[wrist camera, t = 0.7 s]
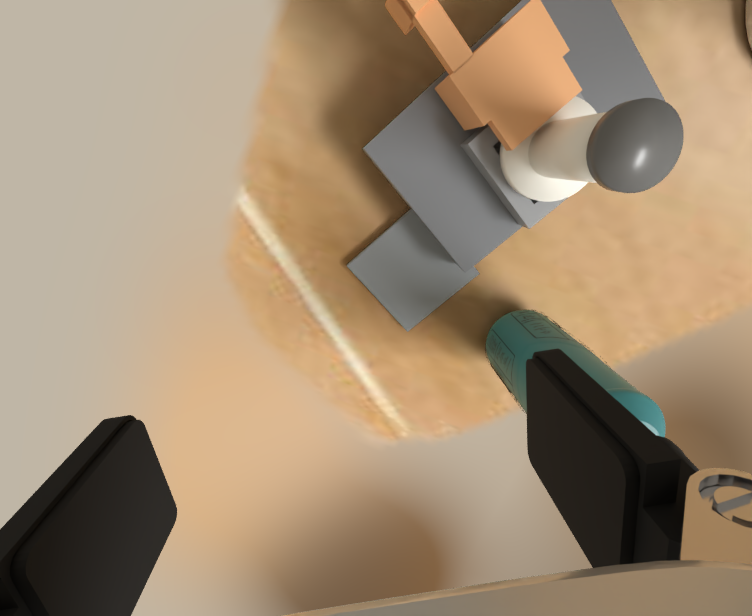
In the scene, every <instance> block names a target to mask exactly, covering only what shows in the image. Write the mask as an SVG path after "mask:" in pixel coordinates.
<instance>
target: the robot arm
mask: <svg viewBox="0 0 752 616" xmlns="http://www.w3.org/2000/svg"><path fill="white" fill-rule="evenodd" d="M746 30H747V36H748V41H749V44H750V46H751V49H752V0H747V1H746ZM526 399H527V442H528V443H527V444H528V455H529V459H530V462H531V464H532V466H533V468H534V469H535V471H536V473H537V475H538V476H539V478H540V479H541V481H542V483H543V485H544V486H545V488H546V489H547V491H548V493H549V495H550V496H551V498H552V500H553V501H554V503H555V505H556V507H557V508H558V510H559V511H560V513H561V515H562V516H563V518H564V520H565V522H566V523H567V525H568V527H569V528H570V530H571V531H572V533H573V535H574V537H575V538H576V540H577V542H578V543H579V545H580V547H581V549H582V550H583V552H584V554H585V555H586V557H587V558H588V560H589V562H590V564H591V565H592V567H593V568H590V569H582V570H575V571H568V572H561V573H553V574H546V575H538V576H531V577H524V578H518V579H511V580H504V581H498V582H491V583H485V584H478V585H472V586H466V587H459V588H453V589H446V590H440V591H433V592H427V593H421V594H414V595H408V596H401V597H394V598H388V599H381V600H376V601H369V602H364V603H357V604H350V605H344V606H338V607H332V608H325V609H319V610H313V611H306V612H300V613H294V614H288V615H282V616H752V474H749V473H746V472H742V471H738V470H732V469H726V468H708V469H704V470H700V471H697V472H696V471H695V470H694V469H693V468H692V467H691V466H689V465H688V464H687V463H686V462H685V461H684V460H683V459H682V458H681V457H679V456H678V455H677V454H676V453H675V452H674V451H673V450H672V449H671V448H669V447H668V446H667V445H666V444H665V443H664V442H663V441H662V440H661V439H660V438H658V437H657V436H656V435H655V434H654V433H653V432H652V431H651V430H650V429H648V428H647V427H646V426H645V425H644V424H643V423H642V422H641V421H640V420H639V419H637V418H636V417H635V416H634V415H633V414H632V413H631V412H630V411H629V410H627V409H626V408H625V407H624V406H623V405H622V404H621V403H620V402H619V401H617V400H616V399H615V398H614V397H613V396H612V395H610V394H609V393H608V392H607V391H606V390H605V389H604V388H603V387H602V386H600V385H599V384H598V383H597V382H596V381H595V380H594V379H593V378H592V377H591V376H589V375H588V374H587V373H586V372H585V371H584V370H583V369H582V368H581V367H579V366H578V365H577V364H576V363H575V362H574V361H573V360H572V359H571V358H570V357H568V356H567V355H566V354H565V353H564V352H563V351H562V350H560V349H559V348H558V349H551V350H544V351H538V352H534V353H533V356H532V359H527V361H526ZM176 517H177V508H176V504H175V502H174V499H173V496H172V494H171V491H170V489H169V486H168V484H167V481H166V479H165V476H164V473H163V471H162V469H161V466H160V463H159V461H158V458H157V456H156V453H155V451H154V448H153V445H152V443H151V441H150V438H149V435H148V433H147V430H146V428H145V425H144V423H143V422H142V421H140V420H136V418H135V417H134V416H131V415H128V416H122V417H115V418H109V419H104V420H103V421H102V422H101V423H100V424H99V425H98V426H97V427H96V428H95V429H94V430H93V431H92V432H91V433H90V434H89V436H88V437H87V438H86V439H85V440H84V441H83V442H82V443H81V444H80V445H79V446H78V447H77V448H76V449H75V450H74V451H73V453H72V454H71V455H70V456H69V457H68V458H67V459H66V460H65V461H64V462H63V463H62V464H61V466H59V467H58V468H57V470H56V471H55V472H54V473H53V474H52V475H51V476H50V477H49V478H48V479H47V480H46V481H45V482H44V483H43V484H42V486H41V487H40V488H39V489H38V490H37V491H36V492H35V493H34V494H33V495H32V496H31V497H30V498H29V499H28V500H27V502H26V503H25V504H24V505H23V506H22V507H21V508H20V509H19V510H18V511H17V512H16V513H15V514H14V516H13V517H12V518H11V519H10V520H9V521H8V522H7V523H6V524H5V525H4V526H3V527H2V528H1V529H0V616H131V614H132V612H133V610H134V608H135V606H136V603H137V601H138V599H139V597H140V595H141V593H142V591H143V589H144V587H145V585H146V582H147V580H148V578H149V576H150V574H151V572H152V570H153V568H154V565H155V564H156V561H157V559H158V557H159V555H160V553H161V551H162V549H163V547H164V545H165V543H166V540H167V538H168V536H169V534H170V532H171V530H172V528H173V526H174V524H175V521H176Z"/></svg>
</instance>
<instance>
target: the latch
mask: <svg viewBox="0 0 752 616" xmlns="http://www.w3.org/2000/svg"><path fill="white" fill-rule="evenodd" d="M385 8H386V9H387V11H388V12H389V13H390V15H391V16H392V18H393V19H394V20H395V22H396V23H397V25H398V26H399V27H400V29H401V30H402V32H403V33H404V34H405V36H406V35H407V34H408V33H409V32H410V31H411V30H412V29H413V28H414V27H416V28H417V30H418V31H419V33H420V34H421V35H422V37H423V38H424V40H425V41H426V43H427V44H428V45H429V47H430V48H431V50H432V51H433V53H434V54H435V55H436V57H437V58H438V60H439V61H440V63H441V64H442V65H443V67H444V68H445V70H446V71H447V73H448V74H449V75H448V76H447V77H446V78H445V79H444V80H443V81H442V82H441V83H440V84H438V85H437V86H436V87H435V88H434V89H435V90H436V92H437V93H438V94H439V96H440V97H441V99H442V100H443V101H444V103H445V104H446V105H447V107H448V108H449V110H450V111H451V112H452V114H453V115H454V117H455V118H456V119H457V121H458V122H459V124H460V125H461V126H462V128H463V129H464V130H469V129H474V128H478V127H482V126H485V125H486V124H488V125H489V126H490V128H491V129H492V131H493V132H494V134H495V135H496V136H497V138H498V139H499V141H500V142H501V144H502V145H503V147H504V148H505V149H506V151H510V150H513V149H514V148H516V147H517V146H518V145H519V144H520V143H521V142H523V141H524V140H525V139H526V138H527V137H528V136H530V135H531V134H532V133H533V132H534V131H535V130H537V129H538V128H539V127H540V126H541V125H542V124H544V123H545V122H546V121H547V120H548V119H549V118H551V117H552V116H553V115H554V114H555V113H556V112H558V111H559V110H560V109H561V108H562V107H563V106H565V105H566V104H567V103H568V102H569V101H570V100H572V99H573V98H574V97H575V96H576V95H577V94H578V93H580V92H581V91H582V88H581V87H580V85H579V83H578V82H577V80H576V78H575V77H574V75H573V73H572V72H571V70H570V68H569V67H568V65H567V63H566V62H565V60H564V58H563V56H564V55H565V54H566V53H567V52H569V51H570V49H569V48H568V46H567V44H566V43H565V41H564V39H563V38H562V36H561V34H560V32H559V31H558V29H557V27H556V26H555V24H554V22H553V21H552V19H551V17H550V16H549V14H548V12H547V10H546V9H545V7H544V5H543V4H542V2H541V0H530V1H529V2H528V3H527V4H526V5H525V6H524V7H522V8H521V9H520V10H519V11H518V12H517V13H515V14H514V15H513V16H512V17H511V18H510V19H509V20H507V21H506V22H505V23H504V24H503V25H502V26H501V27H500V28H499V29H498V30H497V31H496V32H495V33H493V34H492V35H491V36H490V37H489V38H488V39H487V40H486V41H485V42H484V43H483V44H482V45H480V46H479V47H478V48H477V49H476V50H475V51H474V52H472V51H471V49H470V48H469V46H468V45H467V43H466V42H465V40H464V39H463V38H462V36H461V35H460V33H459V32H458V30H457V29H456V27H455V26H454V24H453V23H452V21H451V20H450V18H449V17H448V15H447V14H446V12H445V11H444V9H443V8H442V6H441V5H440V3H439V2H438V0H386V3H385Z"/></svg>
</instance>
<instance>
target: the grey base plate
mask: <svg viewBox="0 0 752 616" xmlns="http://www.w3.org/2000/svg"><path fill="white" fill-rule="evenodd" d="M529 1H530V0H521V1H520V2H519V3H518V4H517V5H516V6H515V7H514V8H513V9H512V10H510V11H509V12H508V13H507V14H506V15H505V16H504V17H503V18H502V19H501V20H500V21H499V22H498V23H497V24H495V25H494V26H493V27H492V28H491V29H490V30H489V31H488V32H487V33H486V34H485V35H484V36H483V37H482V38H480V39H479V40H478V41H477V42H476V43H475V44H474V45H473V46H472V47H471V48H470V49H471V51H472V52H474V51H475V50H476V49H477V48H478V47H479V46H480V45H482V44H483V43H484V42H485V41H486V40H487V39H488V38H489V37H490V36H491V35H492V34H493V33H495V32H496V31H497V30H498V29H499V28H500V27H501V26H502V25H503V24H504V23H505V22H506V21H507V20H509V19H510V18H511V17H512V16H513V15H514V14H515V13H517V12H518V11H519V10H520V9H521V8H522V7H524V6H525V5H526V4H527V3H528V2H529ZM541 2H542V4H543V5H544V7H545V9H546V10H547V12H548V14H549V16H550V17H551V19H552V21H553V22H554V24H555V26H556V27H557V29H558V31H559V32H560V34H561V36H562V38H563V39H564V41H565V43H566V44H567V46H568V48H569V49H570V51H569V52H567V53H566V54H565V55H564V56H563V58H564V60H565V62H566V63H567V65H568V67H569V68H570V70H571V72H572V73H573V75H574V77H575V78H576V80H577V82H578V83H579V85H580V87H581V88H582V91H581V92H580V93H578V94H577V95H576V97H579V98H581V99H583V100H585V101H586V102H587V103H589V104H590V105H591V106H592V107H593V108H594V110H595V111H596V113H597V114H598V113H603V112H607V111H609V110H610V109H612V108H613V107H615V106H616V105H618V104H621V103H623V102H627V101H631V100H636V99H641V98H656V99H660V100H663V101H665V100H664V98H663V96H662V94H661V92H660V90H659V89H658V87H657V85H656V83H655V81H654V79H653V77H652V76H651V74H650V72H649V70H648V68H647V66H646V64H645V63H644V61H643V59H642V57H641V55H640V53H639V51H638V50H637V48H636V46H635V44H634V42H633V40H632V38H631V37H630V35H629V33H628V31H627V29H626V27H625V25H624V24H623V22H622V20H621V18H620V16H619V14H618V12H617V11H616V9H615V7H614V5H613V3H612V1H611V0H541ZM448 75H449V74H448V73H447V71H445V72H444V73H443V74H442V75H441V76H440V77H439V78H438V79H436V80H435V81H434V82H433V83H432V84H431V85H430V86H429V87H428V88H427V89H426V90H425V91H424V92H423V93H421V94H420V95H419V96H418V97H417V98H416V99H415V100H414V101H413V102H412V103H411V104H410V105H409V106H407V107H406V108H405V109H404V110H403V111H402V112H401V113H400V114H399V115H398V116H397V117H396V118H395V119H394V120H392V121H391V122H390V123H389V124H388V125H387V126H386V127H385V128H384V129H383V130H382V131H381V132H380V133H379V134H377V135H376V136H375V137H374V138H373V139H372V140H371V141H370V142H369V143H368V144H367V145H366V146H365V147H363V148H362V150H363V151H364V152H365V154H366V155H367V156H368V157H369V158H370V160H371V161H372V162H373V163H374V164H375V166H376V167H377V168H378V169H379V171H380V172H381V173H382V174H383V175H384V177H385V178H386V179H387V180H388V182H389V183H390V184H391V185H392V186H393V188H394V189H395V190H396V191H397V193H398V194H399V195H400V196H401V197H402V199H403V200H404V201H405V202H406V204H407V205H408V206H409V207H410V208H411V209H412V211H413V212H414V213H415V214H416V215H417V217H418V218H419V219H420V220H421V221H422V223H423V224H424V225H425V226H426V228H427V229H428V230H429V231H430V232H431V234H432V235H433V236H434V237H435V239H436V240H437V241H438V242H439V243H440V245H441V246H442V247H443V248H444V250H445V251H446V252H447V253H448V254H449V256H450V257H451V258H452V259H453V261H454V262H455V263H456V264H457V265H458V266H459V267H460V268H461V269H462V270H463V271H464V272H465V273H466V272H467V271H468V270H470V269H471V268H472V267H473V266H474V265H476V264H477V263H478V262H479V261H481V260H482V259H483V258H484V257H486V256H487V255H488V254H489V253H490V252H492V251H493V250H494V249H495V248H497V247H498V246H499V245H500V244H501V243H503V242H504V241H505V240H506V239H508V238H509V237H510V236H511V235H513V234H514V233H515V232H516V231H517V230H519V229H520V228H521V227H522V226H523V227H526V228H528V229H530V228H531V227H532V226H534V225H535V224H536V223H537V222H539V221H540V220H541V219H542V218H543V217H545V216H546V215H547V214H548V213H550V212H551V211H552V210H553V209H555V208H556V207H557V206H558V205H560V204H561V203H562V202H563V201H564V200H566V199H567V198H568V197H567V198H565V199H562V200H558V201H552V202H543V201H537V200H533V199H529V198H526V197H524V196H522V195H520V194H519V193H517V192H516V191H515V190H514V189H512V187H511V186H510V185H509V184H508V182H507V181H506V179H505V177H504V175H503V172H502V169H501V164H500V146H501V142H500V141H499V139H498V138H497V136H496V135H495V134H494V132H493V131H492V129H491V128H490V126H489V125H488V124H486V125H485V126H482V127H478V128H474V129H469V130H464V129H463V128H462V126H461V125H460V124H459V122H458V121H457V119H456V118H455V117H454V115H453V114H452V112H451V111H450V110H449V108H448V107H447V105H446V104H445V103H444V101H443V100H442V99H441V97H440V96H439V94H438V93H437V92H436V90H435V89H434V88H435V87H436V86H437V85H438V84H440V83H441V82H442V81H443V80H444V79H445V78H446V77H447V76H448Z"/></svg>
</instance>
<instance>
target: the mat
mask: <svg viewBox="0 0 752 616" xmlns="http://www.w3.org/2000/svg"><path fill="white" fill-rule="evenodd" d="M347 267H348V268H349V269H350V270H351V271H352V272H353V273H354V274H355V276H356V277H357V278H358V279H359V280H360V281H361V282H362V283H363V284H364V285H365V286H366V287H367V289H368V290H369V291H370V292H371V293H372V294H373V295H374V296H375V297H376V298H377V299H378V300H379V302H380V303H381V304H382V305H383V306H384V307H385V308H386V309H387V310H388V311H389V312H390V313H391V315H392V316H393V317H394V318H395V319H396V320H397V321H398V322H399V323H400V324H401V325H402V326H403V327H404V329H405V330H406V331H407V332H408V331H409V330H410V329H412V328H413V327H414V326H415V325H417V324H418V323H419V322H420V321H422V320H423V319H424V318H425V317H427V316H428V315H429V314H430V313H432V312H433V311H434V310H435V309H436V308H438V307H439V306H440V305H441V304H443V303H444V302H445V301H446V300H448V299H449V298H450V297H451V296H453V295H454V294H455V293H456V292H458V291H459V290H460V289H461V288H462V287H464V286H465V285H466V284H467V283H469V282H470V281H471V280H472V279H474V278H475V277H476V276H477V275H479V274H480V273H479V272H478V271H477V270H476V268H475V267H474V266H473V267H472V268H471V269H470V270H468V271H467V272H466V273H465V272H464V271H463V270H462V269H461V268H460V267H459V266H458V265H457V264H456V263H455V262H454V261H453V259H452V258H451V257H450V256H449V254H448V253H447V252H446V251H445V250H444V248H443V247H442V246H441V245H440V243H439V242H438V241H437V240H436V239H435V237H434V236H433V235H432V234H431V232H430V231H429V230H428V229H427V228H426V226H425V225H424V224H423V223H422V221H421V220H420V219H419V218H418V217H417V215H416V214H415V213H414V212H413V211H412V209H410V210H408V211H407V212H406V213H405V214H404V215H403V216H402V217H400V218H399V219H398V220H397V221H396V222H395V223H394V224H392V225H391V226H390V227H389V228H388V229H387V230H386V231H384V232H383V233H382V234H381V235H380V236H379V237H378V238H376V239H375V240H374V241H373V242H372V243H371V244H370V245H368V246H367V247H366V248H365V249H364V250H363V251H362V252H360V253H359V254H358V255H357V256H356V257H355V258H354V259H352V260H351V261H350V262H349V263H348V264H347Z"/></svg>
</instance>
